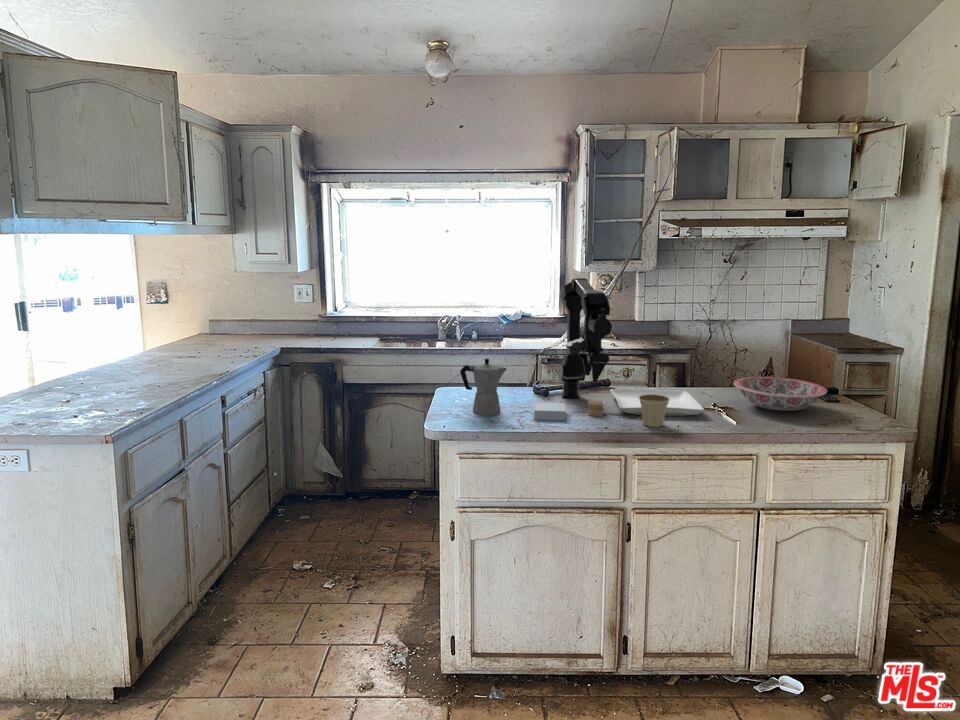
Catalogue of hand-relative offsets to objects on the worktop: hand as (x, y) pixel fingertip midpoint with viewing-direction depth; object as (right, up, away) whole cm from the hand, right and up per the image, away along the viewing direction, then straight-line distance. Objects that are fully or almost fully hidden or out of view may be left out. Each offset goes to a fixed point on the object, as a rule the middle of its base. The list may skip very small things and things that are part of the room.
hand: (590, 378), depth 224 cm
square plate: (+24, -11, +12) cm, 29 cm away
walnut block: (+2, -12, +3) cm, 12 cm away
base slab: (-13, -12, 0) cm, 18 cm away
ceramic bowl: (+66, -11, +12) cm, 68 cm away
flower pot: (+18, -14, -9) cm, 25 cm away
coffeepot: (-35, -11, +5) cm, 37 cm away
